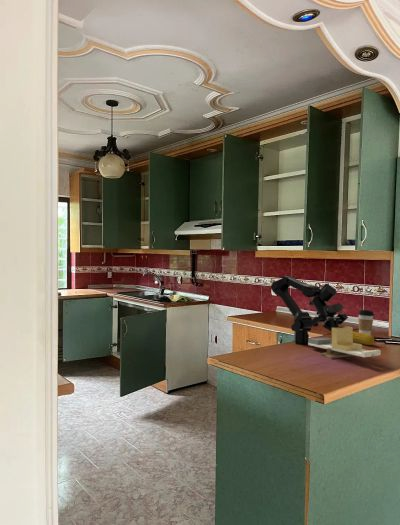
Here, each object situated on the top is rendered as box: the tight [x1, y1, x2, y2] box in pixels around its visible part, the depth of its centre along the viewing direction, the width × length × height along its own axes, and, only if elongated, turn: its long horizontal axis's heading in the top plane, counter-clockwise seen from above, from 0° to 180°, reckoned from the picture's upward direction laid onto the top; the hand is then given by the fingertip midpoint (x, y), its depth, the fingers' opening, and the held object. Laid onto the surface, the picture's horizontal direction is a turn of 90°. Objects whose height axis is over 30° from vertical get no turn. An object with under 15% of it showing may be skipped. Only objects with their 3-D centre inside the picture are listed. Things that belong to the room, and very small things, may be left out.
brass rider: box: [331, 325, 363, 351], centre depth 171 cm, size 8×10×10 cm
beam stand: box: [320, 348, 357, 360], centre depth 174 cm, size 6×16×4 cm, turn 118°
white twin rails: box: [307, 336, 382, 358], centre depth 173 cm, size 32×10×3 cm, turn 28°
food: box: [353, 331, 375, 346], centre depth 204 cm, size 21×6×6 cm, turn 34°
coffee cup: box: [357, 309, 375, 336], centre depth 219 cm, size 8×8×15 cm
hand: (339, 335), depth 174 cm, fingers closed, pressing on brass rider
